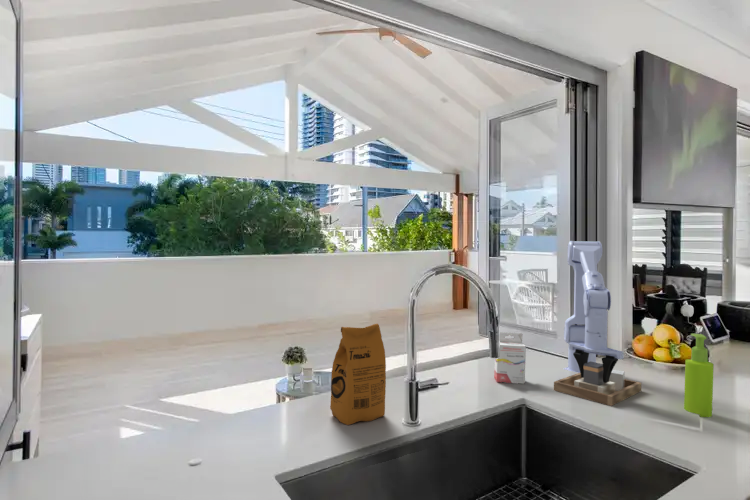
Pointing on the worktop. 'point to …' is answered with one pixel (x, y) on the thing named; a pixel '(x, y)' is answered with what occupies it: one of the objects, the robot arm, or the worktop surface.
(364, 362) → the coffee package
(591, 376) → the dark grey tall block
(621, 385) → the grey plug
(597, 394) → the walled box
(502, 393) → the worktop surface
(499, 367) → the ink cartridge box
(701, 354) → the soap dispenser
